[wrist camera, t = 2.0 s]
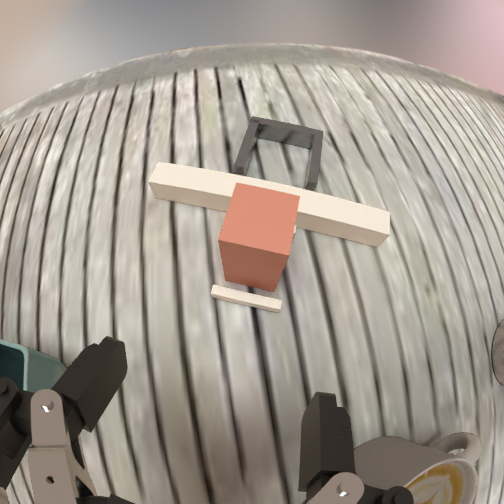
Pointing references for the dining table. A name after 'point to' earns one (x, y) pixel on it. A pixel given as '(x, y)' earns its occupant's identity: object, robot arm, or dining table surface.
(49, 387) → the flower pot
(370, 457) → the coffee mug
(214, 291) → the strip
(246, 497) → the dining table surface
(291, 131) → the keeper bracket
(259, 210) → the block
